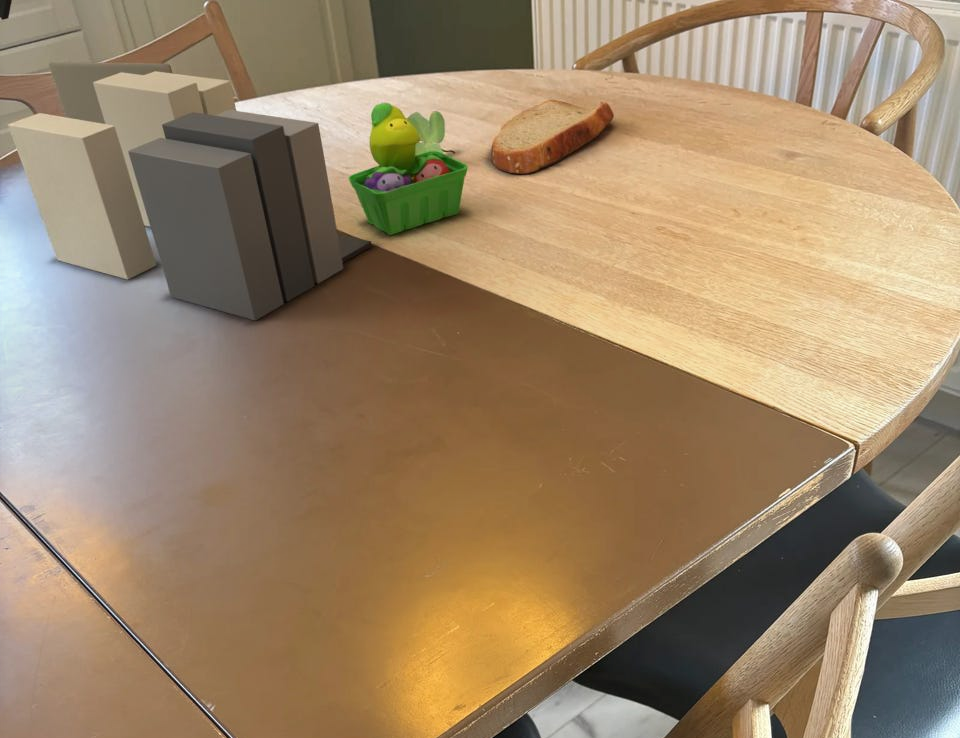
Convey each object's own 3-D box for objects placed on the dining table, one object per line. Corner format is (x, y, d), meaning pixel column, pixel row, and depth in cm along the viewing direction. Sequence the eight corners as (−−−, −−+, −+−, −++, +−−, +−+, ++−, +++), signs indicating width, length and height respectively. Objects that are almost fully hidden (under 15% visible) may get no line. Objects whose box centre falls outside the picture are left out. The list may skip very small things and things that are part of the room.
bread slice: (503, 178, 120) (501, 145, 117) (469, 134, 133) (466, 103, 130) (647, 154, 122) (648, 121, 120) (599, 113, 135) (599, 82, 133)
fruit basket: (384, 242, 108) (368, 129, 101) (348, 219, 114) (330, 111, 107) (475, 214, 112) (466, 103, 105) (435, 193, 118) (423, 87, 110)
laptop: (247, 145, 137) (223, 36, 128) (198, 178, 129) (168, 64, 120) (136, 140, 143) (106, 35, 134) (82, 172, 134) (46, 62, 125)
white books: (206, 240, 113) (167, 92, 103) (135, 223, 119) (92, 82, 108) (293, 196, 121) (265, 55, 111) (223, 182, 127) (190, 47, 117)
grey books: (255, 321, 97) (215, 155, 87) (171, 297, 102) (124, 139, 92) (379, 248, 108) (356, 93, 97) (296, 230, 113) (267, 82, 103)
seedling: (446, 201, 130) (414, 188, 124) (423, 148, 131) (391, 133, 126) (488, 164, 126) (456, 149, 120) (464, 110, 127) (432, 93, 122)
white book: (128, 279, 107) (82, 138, 97) (57, 260, 112) (7, 124, 103) (156, 265, 109) (114, 125, 99) (85, 247, 114) (39, 112, 105)
